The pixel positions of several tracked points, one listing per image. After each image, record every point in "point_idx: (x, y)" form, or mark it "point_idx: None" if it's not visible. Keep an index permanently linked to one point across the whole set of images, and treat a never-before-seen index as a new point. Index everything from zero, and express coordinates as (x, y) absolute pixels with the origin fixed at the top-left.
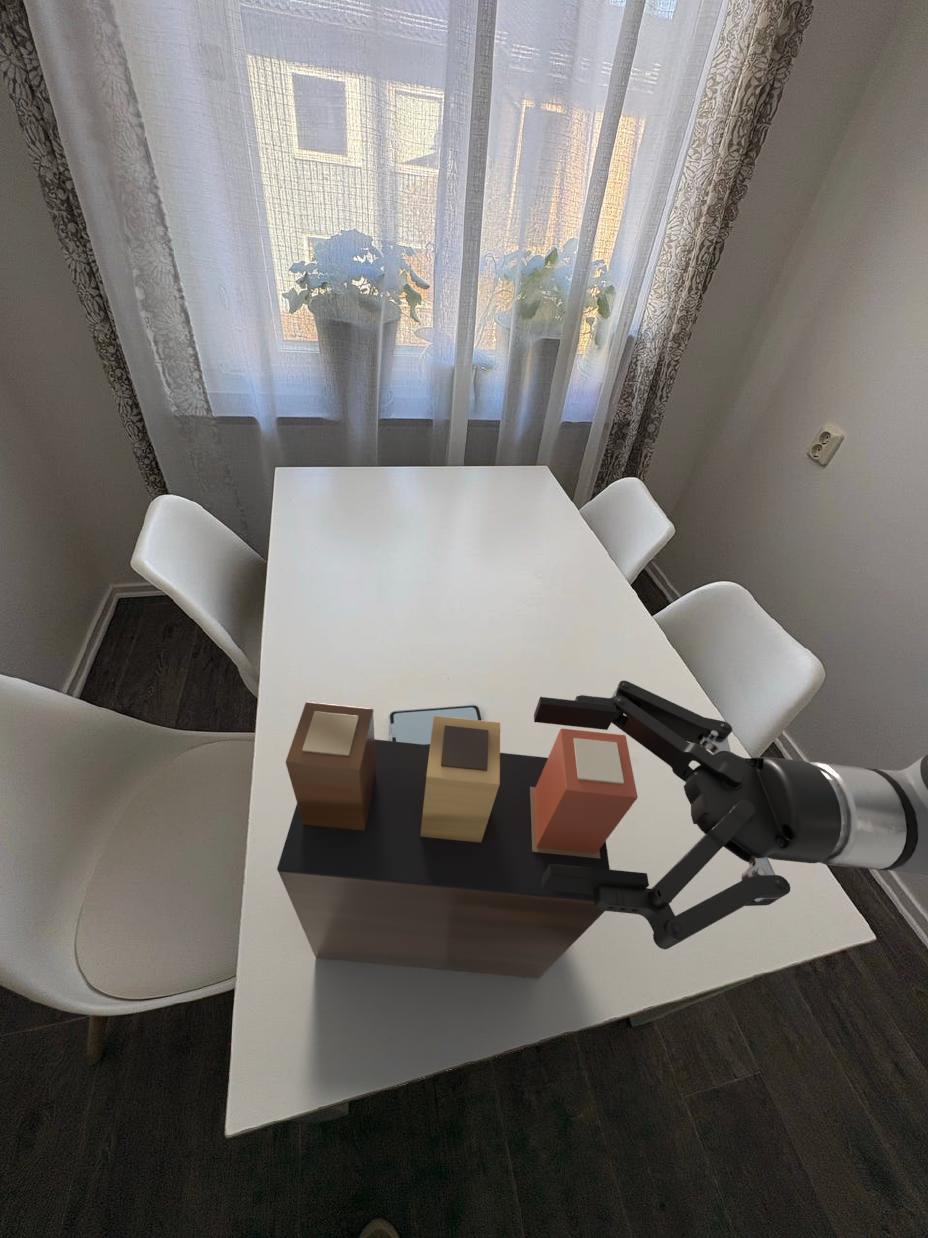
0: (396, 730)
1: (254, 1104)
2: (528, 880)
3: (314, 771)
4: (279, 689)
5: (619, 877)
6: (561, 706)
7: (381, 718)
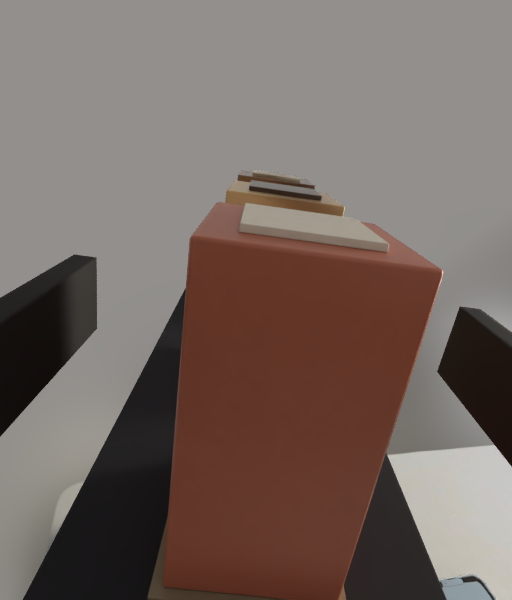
0: (455, 587)
1: (67, 492)
2: (131, 440)
3: None
4: (430, 459)
5: (3, 305)
6: (486, 329)
7: (463, 570)
